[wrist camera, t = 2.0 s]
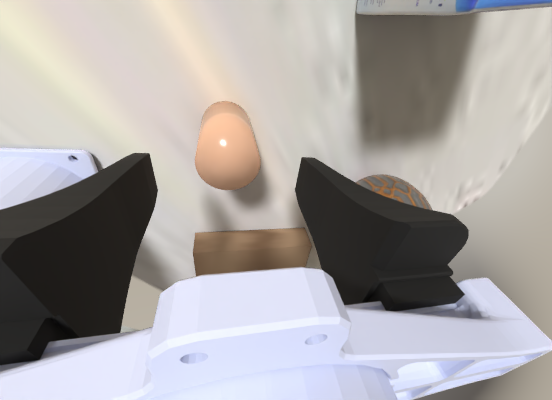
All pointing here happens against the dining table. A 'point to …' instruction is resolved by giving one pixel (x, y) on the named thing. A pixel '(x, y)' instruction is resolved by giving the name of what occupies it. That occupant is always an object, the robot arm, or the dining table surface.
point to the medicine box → (444, 6)
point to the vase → (395, 190)
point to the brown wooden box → (250, 250)
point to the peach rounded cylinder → (227, 147)
